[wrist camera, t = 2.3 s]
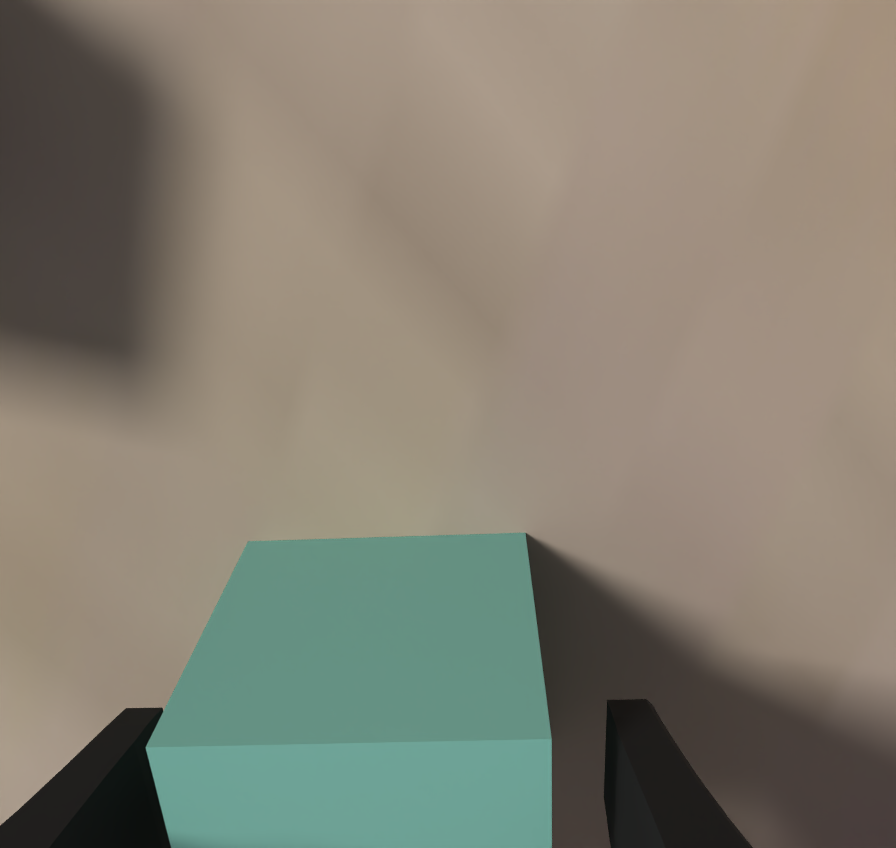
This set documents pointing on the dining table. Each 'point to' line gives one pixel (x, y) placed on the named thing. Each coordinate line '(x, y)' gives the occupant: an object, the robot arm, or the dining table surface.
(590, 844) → the dining table surface
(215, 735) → the teal block
